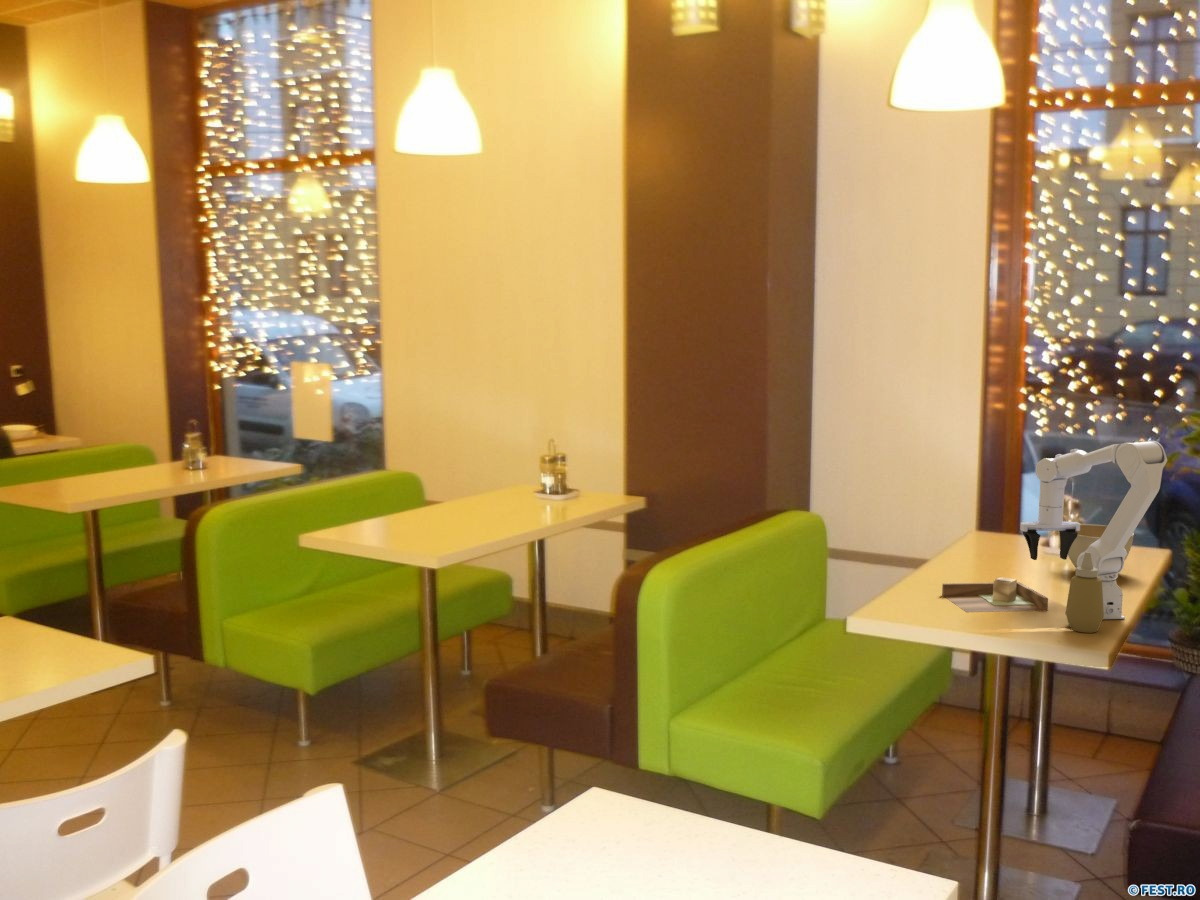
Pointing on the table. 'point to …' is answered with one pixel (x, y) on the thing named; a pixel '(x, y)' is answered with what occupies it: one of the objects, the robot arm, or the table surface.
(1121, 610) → the robot arm
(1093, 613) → the squeeze bottle
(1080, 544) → the beige bowl
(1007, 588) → the block
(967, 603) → the arena
